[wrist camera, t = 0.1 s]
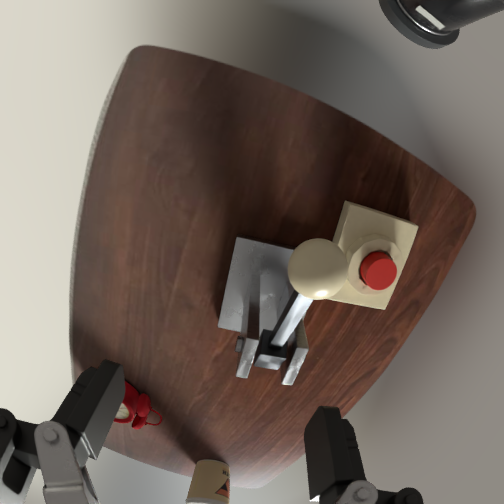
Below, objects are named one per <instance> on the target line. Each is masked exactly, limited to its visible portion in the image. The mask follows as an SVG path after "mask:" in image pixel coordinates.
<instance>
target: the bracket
mask: <svg viewBox="0 0 504 504" xmlns="http://www.w3.org/2000/svg"><path fill="white" fill-rule="evenodd" d="M295 249H296V247H293V246H289V245H284V244H280V243H276V242H271V241H267V240H263V239H258V238H254V237H250V236H245V235H241V234H237V237H236V242H235V247H234V251H233V256H232V260H231V265H230V270H229V274H228V279H227V284H226V288H225V293H224V298H223V302H222V307H221V312H220V317H219V322H218V327H220V328H224V329H229V330H233V331H238V332H241V333H240V336H238V337H237V340H236V345H235V352H238V359H237V368H236V377H242V378H247V377H248V374H249V371H250V368H251V365H252V362H253V359H254V356H255V353H256V350H257V346H258V343H259V336H260V335H261V333H262V331H263V329H267V330H272V331H273V329H274V327H275V325H276V323H277V322H278V320H279V318H280V316H281V314H282V312H283V310H284V308H285V307H286V305H287V303H288V301H289V299H290V297H291V295H292V293H293V291H294V287H293V286H292V284H291V282H290V280H289V276H288V262H289V259H290V256H291V254H292V253H293V251H294V250H295ZM306 312H307V311H306ZM306 312H305V314H306ZM305 314H304V315H303V317H302V318H301V320H300V322H299V323H298V325H297V326H296V328H295V329H294V331H293V332H292V334H291V335H290V337H289V338H288V345H287V358H286V360H285V361H284V362H283V363H282V365H281V366H280V369H281V383H282V384H287V385H292V384H293V382H294V380H295V378H296V376H297V374H298V372H299V369H300V367H301V365H302V363H303V362H304V360H305V357H306V354H307V352H308V350H309V348H308V343H307V338H306V333H305V328H304V323H303V319H304V317H305Z"/></svg>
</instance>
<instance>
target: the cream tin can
mask: <svg viewBox="0 0 504 504" xmlns="http://www.w3.org/2000/svg"><path fill="white" fill-rule="evenodd" d="M229 486H230V468H229V466H228V465H227V464H225V463H223V462H221V461H217V460H209V459H205V460H200V461H198V462H197V464H196V467H195V470H194V474H193V478H192V481H191V485H190V489H189V492H188V496H187V499H186V504H229V491H230V489H229V488H230V487H229Z"/></svg>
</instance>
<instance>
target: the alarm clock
mask: <svg viewBox="0 0 504 504" xmlns="http://www.w3.org/2000/svg"><path fill="white" fill-rule="evenodd" d="M150 408H152V407H151V401H150V398H149V396H148V395H147V394H144V393H142V394H141V395H140V394H139V393H138V392H137V390H136V389H135V388H134V387H133V386H131V385H130V384H129V383H127V382H126V381H125V395H124V399H123V402H122V404H121V406H120V408H119V410H118V412H117V414H116V417H115V419H114V422H118V423H129V422H131V421H132V420H133V419H134V420H133V423H132V428H134V429H140V428H141V427H142V426H143V425H144V424H145V425H147V424H150V425H159V424H160V423H161V421H162V416H161V415H160V414H159V413H158V412H156V411H154V410H152V409H150ZM150 410H151V411H153V412H155V413H157V414H158V415H159V416H160V418H161V419H160V422H159V423H158V424H151V423H147V422H146V420H147V415H148V413H149V411H150ZM137 412H138V413H137ZM135 414H137V415H136V416H135ZM134 416H135V418H134Z"/></svg>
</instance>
